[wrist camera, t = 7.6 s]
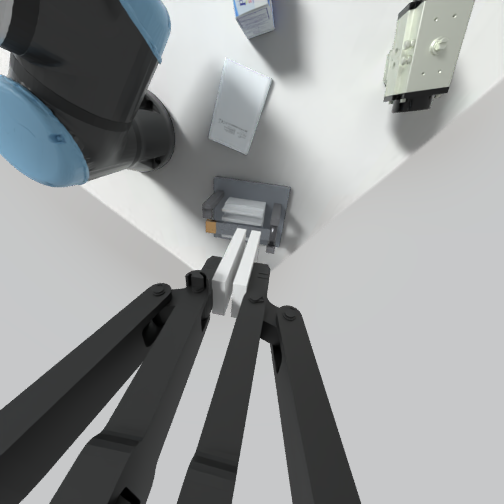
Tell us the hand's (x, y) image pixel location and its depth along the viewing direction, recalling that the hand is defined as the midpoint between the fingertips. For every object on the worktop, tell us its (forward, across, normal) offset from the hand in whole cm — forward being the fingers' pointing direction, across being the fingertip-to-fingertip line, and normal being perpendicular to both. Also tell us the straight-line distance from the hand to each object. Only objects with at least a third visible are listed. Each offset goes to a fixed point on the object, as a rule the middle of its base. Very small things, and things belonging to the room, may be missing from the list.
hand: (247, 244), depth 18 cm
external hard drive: (+31, -8, +9) cm, 33 cm away
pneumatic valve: (+31, +16, +17) cm, 39 cm away
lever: (+22, -4, -10) cm, 24 cm away
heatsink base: (+30, -4, -10) cm, 32 cm away
